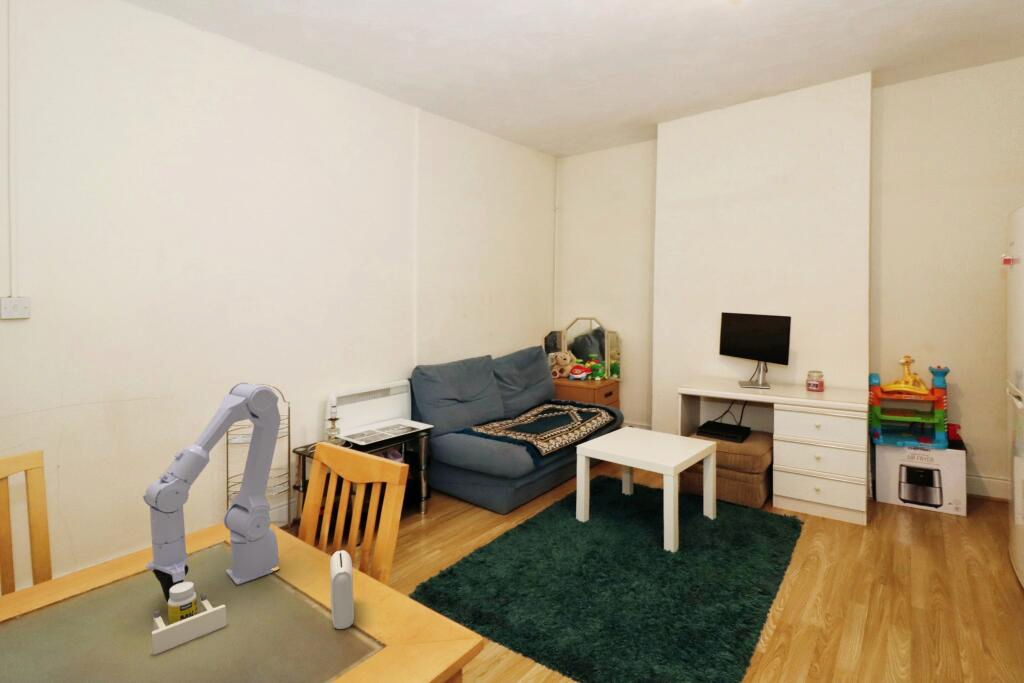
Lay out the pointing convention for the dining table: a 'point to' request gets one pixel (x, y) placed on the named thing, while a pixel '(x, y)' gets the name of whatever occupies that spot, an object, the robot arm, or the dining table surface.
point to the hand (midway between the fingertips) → (172, 600)
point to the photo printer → (341, 590)
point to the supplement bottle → (182, 602)
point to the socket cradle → (187, 626)
